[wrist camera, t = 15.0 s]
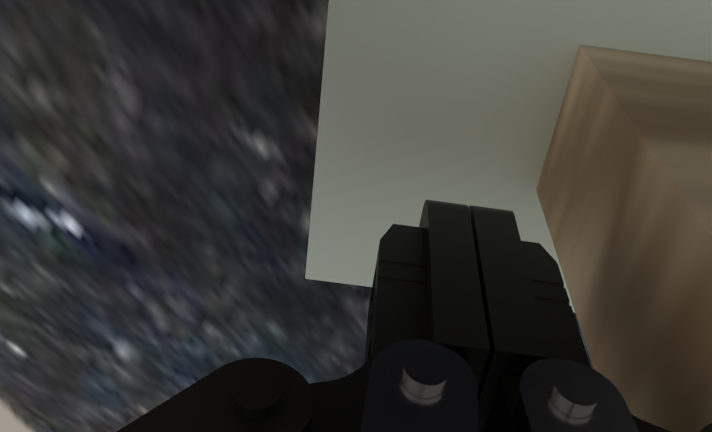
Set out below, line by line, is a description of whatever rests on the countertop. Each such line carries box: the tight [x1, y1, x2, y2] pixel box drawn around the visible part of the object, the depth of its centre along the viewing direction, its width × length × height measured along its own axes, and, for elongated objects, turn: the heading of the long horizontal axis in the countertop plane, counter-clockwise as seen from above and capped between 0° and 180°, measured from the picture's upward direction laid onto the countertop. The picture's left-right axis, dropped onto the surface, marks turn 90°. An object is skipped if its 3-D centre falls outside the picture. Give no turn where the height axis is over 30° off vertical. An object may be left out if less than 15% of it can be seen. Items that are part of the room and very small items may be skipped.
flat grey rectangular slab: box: [305, 0, 712, 313], centre depth 17 cm, size 12×18×1 cm, turn 84°
